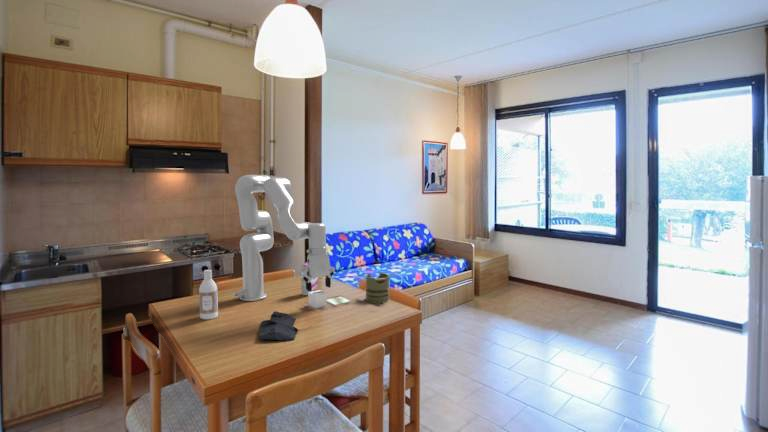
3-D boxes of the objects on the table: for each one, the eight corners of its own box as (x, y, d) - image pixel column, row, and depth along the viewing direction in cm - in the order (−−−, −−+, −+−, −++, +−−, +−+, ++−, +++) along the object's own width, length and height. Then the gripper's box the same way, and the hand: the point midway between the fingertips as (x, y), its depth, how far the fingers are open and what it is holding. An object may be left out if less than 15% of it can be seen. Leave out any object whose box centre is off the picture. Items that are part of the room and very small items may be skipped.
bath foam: (198, 320, 159) (196, 272, 157) (202, 314, 166) (200, 268, 164) (216, 319, 161) (214, 271, 159) (219, 313, 168) (218, 268, 166)
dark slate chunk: (251, 344, 138) (251, 331, 138) (263, 321, 160) (262, 310, 159) (295, 342, 140) (295, 329, 140) (300, 320, 162) (300, 309, 161)
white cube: (315, 308, 171) (315, 294, 170) (308, 305, 176) (308, 291, 175) (326, 305, 175) (326, 292, 174) (319, 302, 179) (319, 289, 179)
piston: (363, 273, 193) (385, 272, 196) (363, 297, 194) (384, 295, 197) (369, 279, 182) (392, 277, 185) (369, 304, 183) (392, 302, 186)
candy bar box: (309, 291, 202) (309, 260, 201) (318, 292, 201) (318, 260, 200) (301, 297, 191) (300, 265, 190) (310, 298, 190) (310, 265, 189)
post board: (315, 315, 167) (315, 300, 166) (300, 307, 177) (299, 293, 177) (357, 305, 181) (357, 291, 180) (340, 298, 192) (340, 285, 191)
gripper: (304, 254, 164) (305, 294, 166) (338, 249, 176) (339, 287, 177) (296, 252, 170) (297, 290, 171) (329, 247, 181) (330, 283, 183)
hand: (318, 288), depth 174 cm, fingers open, 9 cm apart
